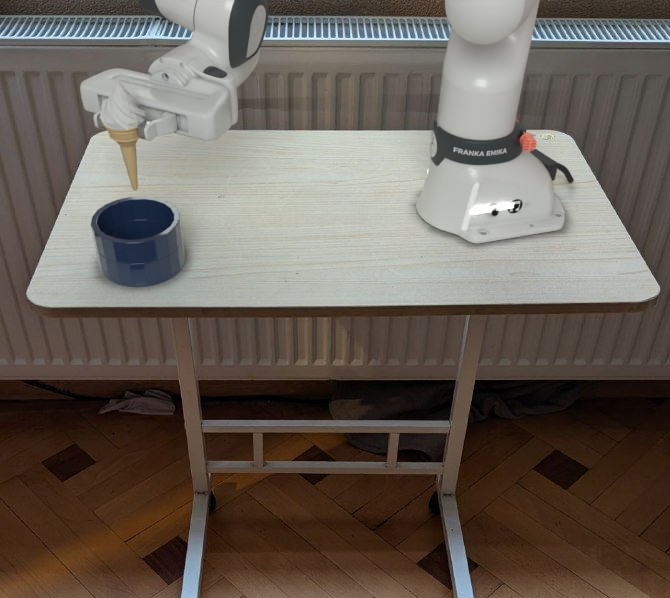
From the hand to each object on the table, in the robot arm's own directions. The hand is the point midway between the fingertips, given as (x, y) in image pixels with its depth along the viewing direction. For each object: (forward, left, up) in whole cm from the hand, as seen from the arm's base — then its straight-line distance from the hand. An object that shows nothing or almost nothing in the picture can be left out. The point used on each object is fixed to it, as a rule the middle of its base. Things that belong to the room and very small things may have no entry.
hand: (120, 128), depth 102 cm
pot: (0, 0, -19) cm, 20 cm away
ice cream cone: (0, -1, -9) cm, 9 cm away
